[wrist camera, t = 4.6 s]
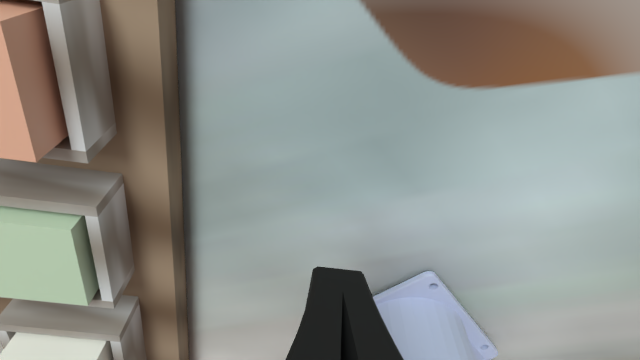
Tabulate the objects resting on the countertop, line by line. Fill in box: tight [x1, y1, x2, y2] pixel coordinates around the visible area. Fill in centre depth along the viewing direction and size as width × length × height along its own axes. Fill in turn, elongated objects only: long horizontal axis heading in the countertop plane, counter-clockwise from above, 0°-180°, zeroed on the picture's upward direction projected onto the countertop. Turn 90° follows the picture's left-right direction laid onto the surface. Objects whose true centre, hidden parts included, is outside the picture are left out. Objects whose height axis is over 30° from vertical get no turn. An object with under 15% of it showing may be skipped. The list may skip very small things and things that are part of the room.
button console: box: [0, 0, 189, 360], centre depth 19 cm, size 28×10×4 cm, turn 172°
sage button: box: [0, 206, 99, 306], centre depth 18 cm, size 4×4×3 cm
